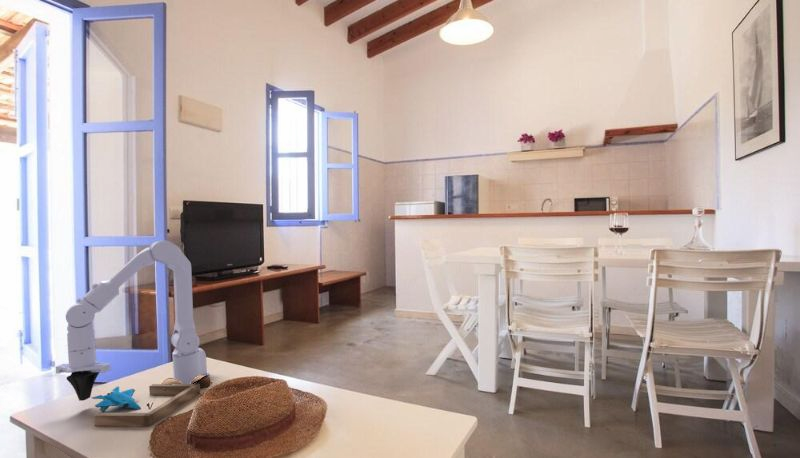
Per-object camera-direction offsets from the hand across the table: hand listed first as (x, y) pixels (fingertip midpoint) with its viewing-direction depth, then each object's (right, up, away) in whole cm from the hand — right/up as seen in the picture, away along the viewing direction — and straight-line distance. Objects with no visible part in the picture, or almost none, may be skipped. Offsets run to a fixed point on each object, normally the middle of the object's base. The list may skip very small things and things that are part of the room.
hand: (84, 399), depth 105 cm
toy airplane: (+10, -2, -2) cm, 11 cm away
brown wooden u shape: (+19, -1, -2) cm, 19 cm away
